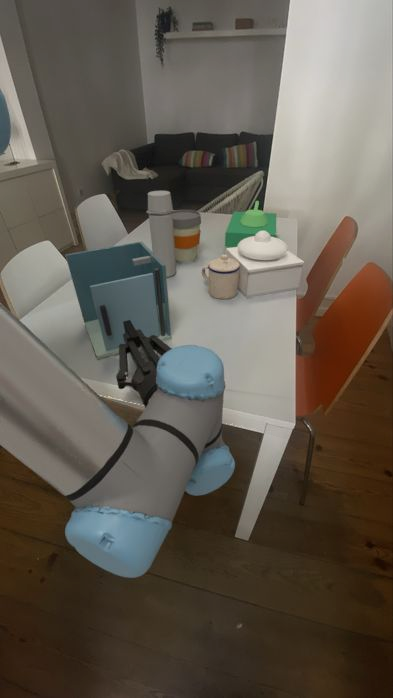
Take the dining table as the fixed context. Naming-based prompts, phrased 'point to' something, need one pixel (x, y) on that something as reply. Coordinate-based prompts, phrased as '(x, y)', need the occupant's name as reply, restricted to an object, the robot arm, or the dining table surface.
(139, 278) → the shower door
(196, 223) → the reusable coffee cup
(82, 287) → the shower
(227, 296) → the teacup with lid
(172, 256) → the water bottle
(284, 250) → the butter dish
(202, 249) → the dining table surface
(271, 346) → the dining table surface
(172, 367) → the robot arm
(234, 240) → the toy tank
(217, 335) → the dining table surface
